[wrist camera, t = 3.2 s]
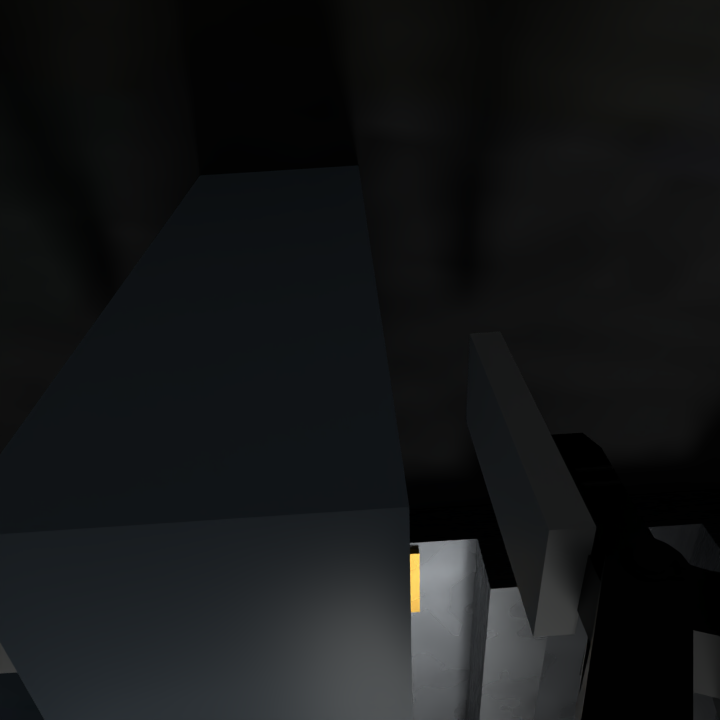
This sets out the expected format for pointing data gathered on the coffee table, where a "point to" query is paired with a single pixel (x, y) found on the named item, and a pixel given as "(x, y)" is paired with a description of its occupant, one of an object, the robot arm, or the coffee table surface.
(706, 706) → the rack
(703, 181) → the coffee table surface
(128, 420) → the gray rectangular block
